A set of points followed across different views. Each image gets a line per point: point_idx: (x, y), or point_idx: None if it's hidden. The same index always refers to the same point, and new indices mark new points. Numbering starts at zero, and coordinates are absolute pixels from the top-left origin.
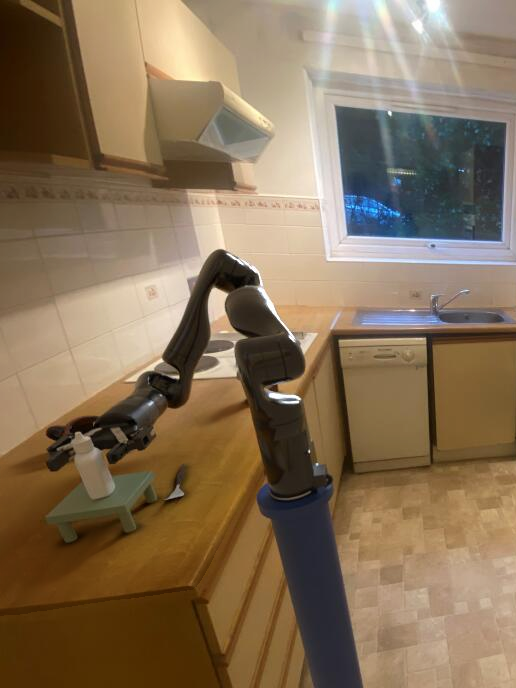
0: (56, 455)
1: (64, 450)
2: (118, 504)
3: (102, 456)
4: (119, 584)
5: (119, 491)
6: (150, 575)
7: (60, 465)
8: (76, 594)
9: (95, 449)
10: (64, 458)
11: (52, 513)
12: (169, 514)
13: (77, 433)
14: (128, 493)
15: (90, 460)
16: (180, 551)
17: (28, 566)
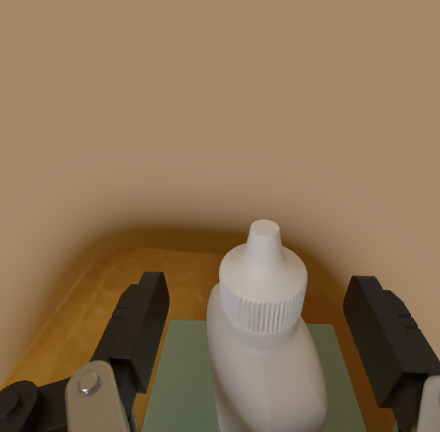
0: (381, 312)
1: (400, 369)
2: (183, 326)
3: (212, 364)
4: (176, 258)
5: (199, 399)
6: (145, 262)
7: (357, 334)
8: (219, 256)
9: (221, 328)
10: (376, 363)
11: (325, 334)
12: None
13: (259, 220)
14: (171, 375)
15: (219, 282)
16: (109, 291)
17: (326, 323)
